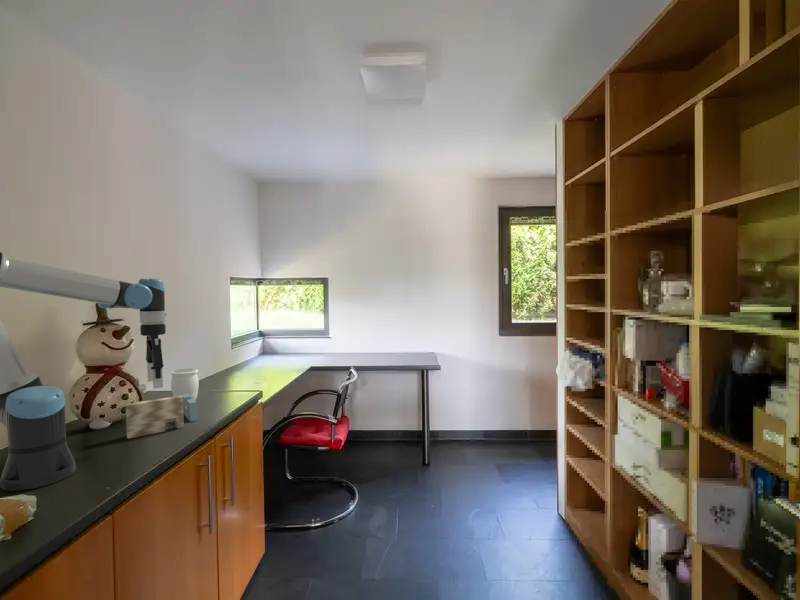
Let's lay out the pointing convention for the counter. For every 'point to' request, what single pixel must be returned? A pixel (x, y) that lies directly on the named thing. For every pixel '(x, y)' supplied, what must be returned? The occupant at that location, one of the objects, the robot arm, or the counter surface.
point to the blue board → (189, 408)
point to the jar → (185, 382)
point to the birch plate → (153, 415)
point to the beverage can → (99, 424)
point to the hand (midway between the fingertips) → (155, 384)
